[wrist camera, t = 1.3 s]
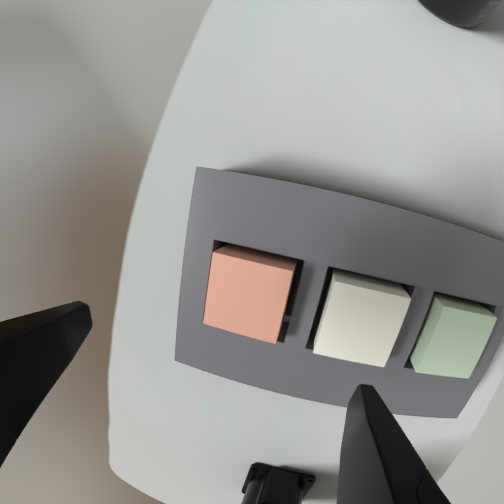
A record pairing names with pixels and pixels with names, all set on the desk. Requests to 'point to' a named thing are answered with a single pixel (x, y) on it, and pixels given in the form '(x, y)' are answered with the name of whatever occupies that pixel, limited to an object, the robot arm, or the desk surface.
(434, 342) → the sage key
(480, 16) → the supplement bottle
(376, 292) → the cream key
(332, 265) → the keyguard
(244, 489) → the robot arm
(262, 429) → the desk surface
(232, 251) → the terracotta key
